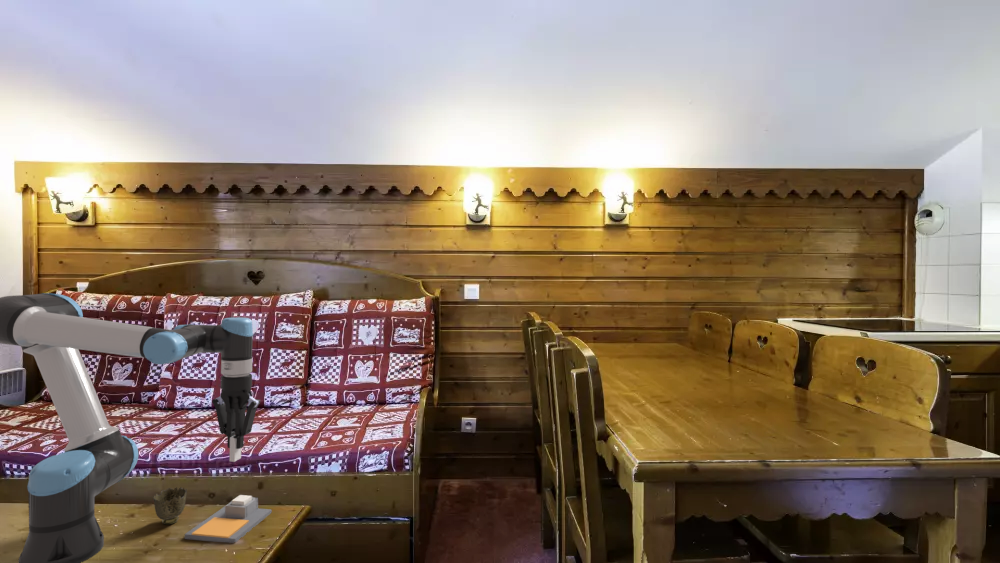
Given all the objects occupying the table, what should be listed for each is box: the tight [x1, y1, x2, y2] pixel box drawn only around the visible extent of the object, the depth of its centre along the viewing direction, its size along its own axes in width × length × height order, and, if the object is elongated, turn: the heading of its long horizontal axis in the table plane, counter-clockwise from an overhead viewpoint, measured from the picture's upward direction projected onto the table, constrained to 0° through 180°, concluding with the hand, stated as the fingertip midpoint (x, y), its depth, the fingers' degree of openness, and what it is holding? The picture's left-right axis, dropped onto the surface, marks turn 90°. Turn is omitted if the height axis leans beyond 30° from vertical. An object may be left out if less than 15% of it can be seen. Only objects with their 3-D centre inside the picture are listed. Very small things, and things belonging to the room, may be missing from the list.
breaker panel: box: [184, 496, 272, 544], centre depth 128 cm, size 14×15×4 cm
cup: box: [152, 486, 188, 526], centre depth 130 cm, size 8×7×8 cm
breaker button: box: [231, 494, 253, 506], centre depth 133 cm, size 4×3×3 cm
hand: (235, 459), depth 132 cm, fingers closed
